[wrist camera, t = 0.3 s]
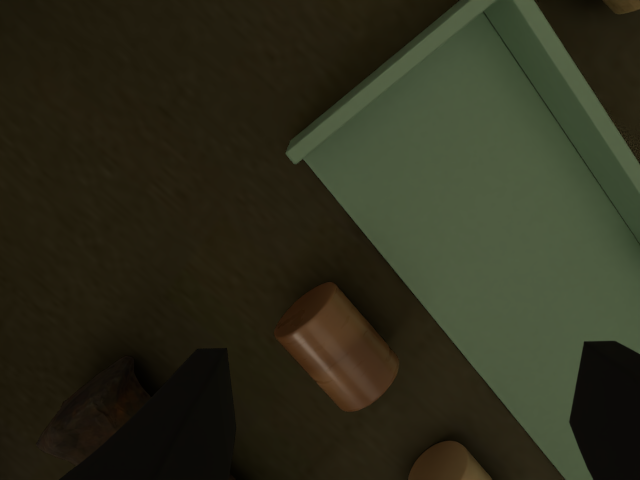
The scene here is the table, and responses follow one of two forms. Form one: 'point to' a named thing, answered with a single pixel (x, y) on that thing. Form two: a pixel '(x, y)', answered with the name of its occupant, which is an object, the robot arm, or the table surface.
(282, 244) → the table surface
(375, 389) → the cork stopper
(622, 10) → the gavel
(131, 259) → the table surface
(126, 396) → the hand tool
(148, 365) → the table surface
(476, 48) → the dustpan
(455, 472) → the beech dowel
